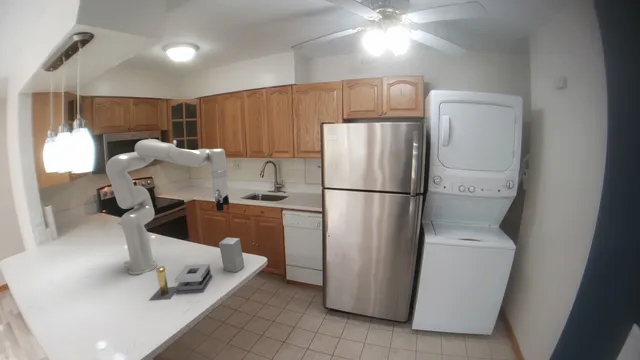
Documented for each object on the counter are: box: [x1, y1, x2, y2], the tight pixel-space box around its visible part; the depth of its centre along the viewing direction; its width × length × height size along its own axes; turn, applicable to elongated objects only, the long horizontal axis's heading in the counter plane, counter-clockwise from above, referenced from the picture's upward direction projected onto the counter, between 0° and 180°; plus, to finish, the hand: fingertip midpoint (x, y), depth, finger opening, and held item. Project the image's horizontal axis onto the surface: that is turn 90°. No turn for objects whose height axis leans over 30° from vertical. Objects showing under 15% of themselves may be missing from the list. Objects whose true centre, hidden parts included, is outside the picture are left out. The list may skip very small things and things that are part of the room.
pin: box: [155, 265, 169, 295], centre depth 116 cm, size 3×3×12 cm
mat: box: [148, 286, 177, 302], centre depth 118 cm, size 9×9×1 cm
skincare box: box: [218, 236, 245, 273], centre depth 135 cm, size 8×7×16 cm
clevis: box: [174, 263, 214, 295], centre depth 122 cm, size 12×12×8 cm
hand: (223, 207), depth 135 cm, fingers open, 9 cm apart
